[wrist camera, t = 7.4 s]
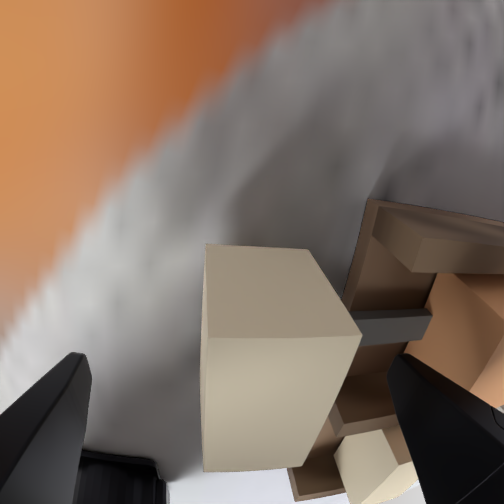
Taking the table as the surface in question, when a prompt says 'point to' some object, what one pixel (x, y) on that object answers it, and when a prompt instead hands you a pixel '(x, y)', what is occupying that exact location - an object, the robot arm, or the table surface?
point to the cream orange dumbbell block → (319, 349)
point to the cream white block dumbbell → (376, 465)
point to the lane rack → (391, 298)
